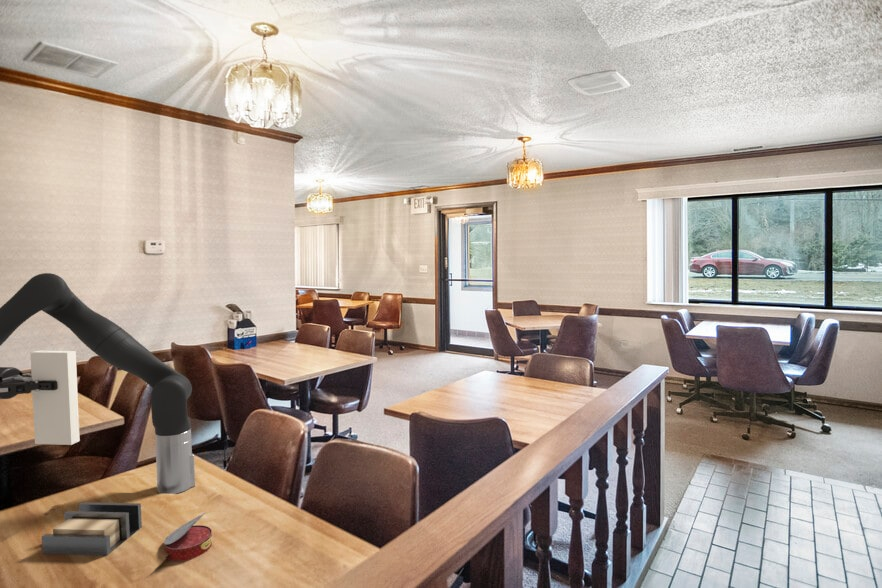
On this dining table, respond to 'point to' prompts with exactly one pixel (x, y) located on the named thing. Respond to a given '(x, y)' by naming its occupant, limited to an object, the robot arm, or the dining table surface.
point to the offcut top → (87, 527)
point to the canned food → (188, 541)
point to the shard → (53, 509)
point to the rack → (95, 543)
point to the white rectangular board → (55, 398)
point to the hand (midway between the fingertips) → (61, 383)
